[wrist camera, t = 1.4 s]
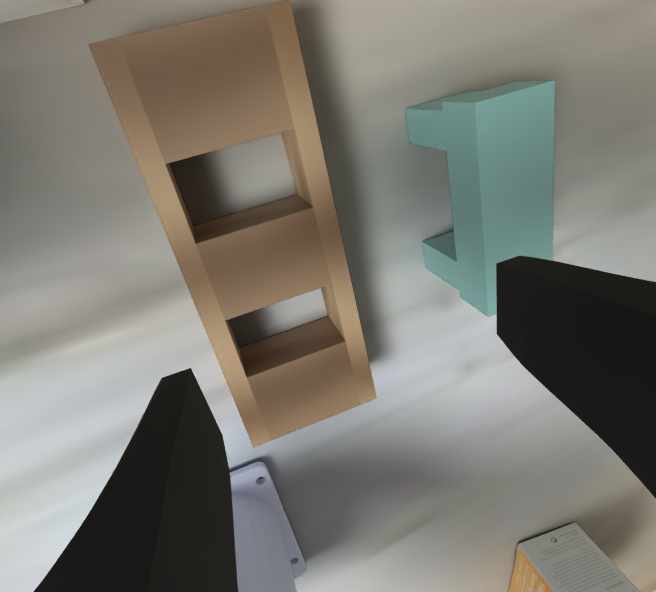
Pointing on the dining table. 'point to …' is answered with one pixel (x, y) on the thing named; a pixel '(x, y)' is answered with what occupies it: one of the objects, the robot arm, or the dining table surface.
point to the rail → (252, 224)
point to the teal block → (491, 181)
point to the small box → (566, 565)
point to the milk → (32, 8)
